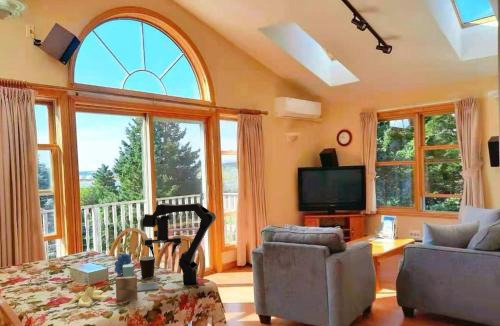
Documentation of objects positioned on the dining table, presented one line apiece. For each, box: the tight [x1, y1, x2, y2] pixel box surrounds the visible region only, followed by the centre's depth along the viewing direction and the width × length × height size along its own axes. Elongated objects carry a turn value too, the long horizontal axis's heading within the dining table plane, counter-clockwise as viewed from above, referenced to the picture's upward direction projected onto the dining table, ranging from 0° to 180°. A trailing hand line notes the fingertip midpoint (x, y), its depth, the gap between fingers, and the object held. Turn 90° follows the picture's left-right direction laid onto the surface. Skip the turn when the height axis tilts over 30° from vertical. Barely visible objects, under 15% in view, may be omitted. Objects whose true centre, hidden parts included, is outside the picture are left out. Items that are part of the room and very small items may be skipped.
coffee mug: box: [138, 255, 156, 279], centre depth 218 cm, size 12×9×10 cm
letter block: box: [122, 263, 135, 277], centre depth 194 cm, size 5×5×12 cm
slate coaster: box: [137, 282, 159, 293], centre depth 196 cm, size 10×10×1 cm
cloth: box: [67, 287, 111, 307], centre depth 182 cm, size 22×19×6 cm
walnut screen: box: [115, 275, 138, 302], centre depth 181 cm, size 9×2×10 cm, turn 95°
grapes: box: [114, 252, 132, 276], centre depth 222 cm, size 12×7×12 cm, turn 149°
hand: (162, 257), depth 204 cm, fingers open, 9 cm apart
